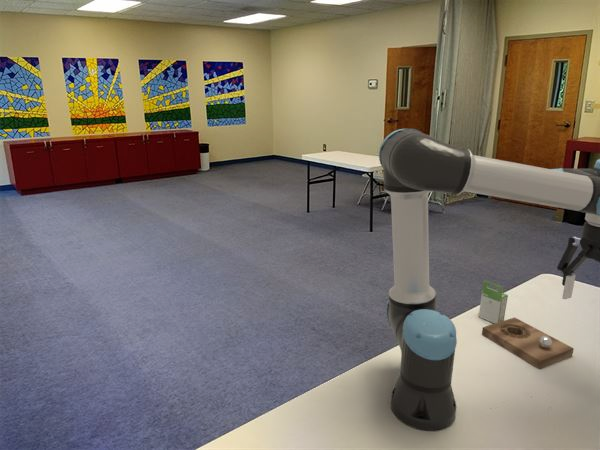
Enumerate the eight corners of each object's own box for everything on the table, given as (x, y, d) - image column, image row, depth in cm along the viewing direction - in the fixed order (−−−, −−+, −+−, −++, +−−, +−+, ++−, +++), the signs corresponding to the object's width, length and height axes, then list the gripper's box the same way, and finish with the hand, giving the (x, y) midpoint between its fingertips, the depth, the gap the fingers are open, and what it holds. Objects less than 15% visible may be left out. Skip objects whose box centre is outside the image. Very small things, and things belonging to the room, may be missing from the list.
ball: (545, 351, 130) (547, 341, 129) (535, 345, 133) (536, 335, 132) (553, 348, 131) (555, 338, 130) (543, 343, 134) (545, 332, 133)
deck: (572, 355, 132) (573, 348, 131) (538, 368, 126) (540, 360, 126) (513, 324, 149) (514, 317, 149) (481, 334, 143) (482, 327, 143)
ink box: (504, 321, 151) (509, 284, 147) (497, 325, 149) (502, 287, 145) (485, 313, 156) (489, 277, 152) (478, 317, 154) (482, 280, 150)
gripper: (662, 234, 105) (640, 322, 111) (569, 210, 124) (555, 286, 130) (642, 239, 101) (621, 329, 108) (550, 213, 121) (537, 292, 127)
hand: (585, 306), depth 119 cm, fingers open, 10 cm apart
